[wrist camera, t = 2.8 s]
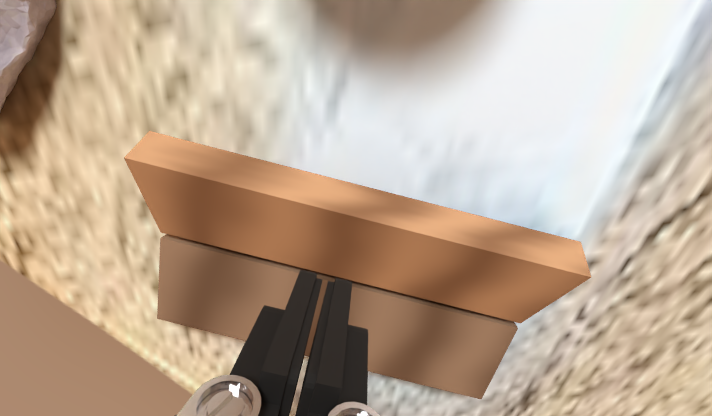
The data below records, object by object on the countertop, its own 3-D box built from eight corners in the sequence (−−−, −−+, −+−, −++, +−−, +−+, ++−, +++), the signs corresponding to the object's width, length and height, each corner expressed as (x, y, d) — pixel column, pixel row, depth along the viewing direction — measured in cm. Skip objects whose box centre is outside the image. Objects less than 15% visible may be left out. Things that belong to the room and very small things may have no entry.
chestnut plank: (580, 242, 17) (591, 277, 16) (516, 292, 21) (520, 323, 20) (149, 131, 17) (124, 157, 15) (178, 206, 21) (160, 232, 20)
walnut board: (506, 307, 22) (517, 328, 20) (473, 375, 24) (481, 399, 22) (179, 225, 22) (160, 238, 20) (174, 300, 24) (157, 318, 22)
